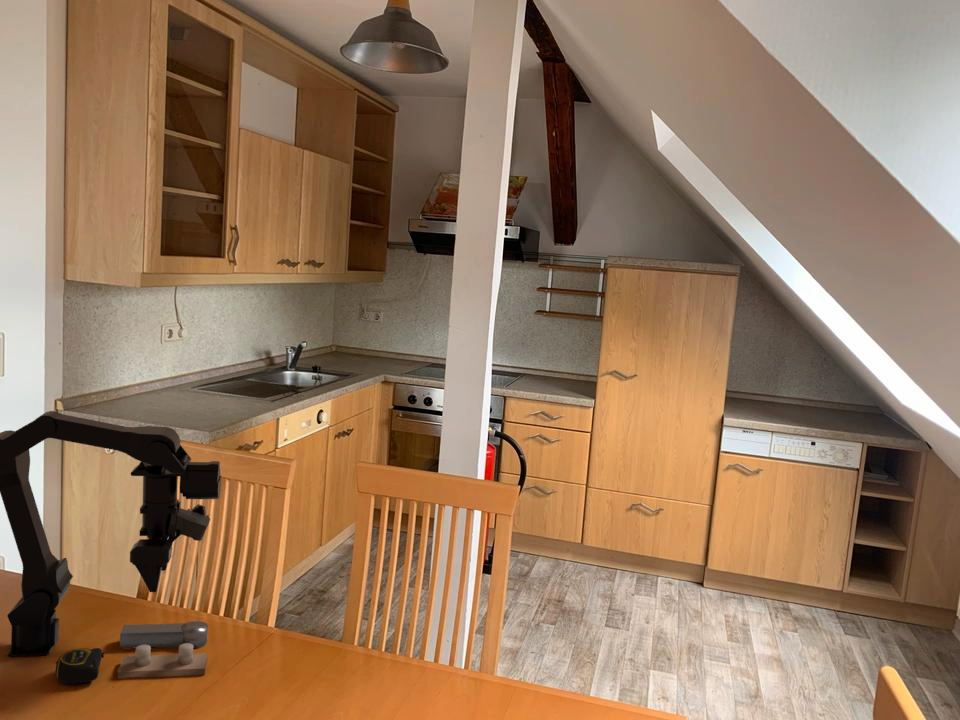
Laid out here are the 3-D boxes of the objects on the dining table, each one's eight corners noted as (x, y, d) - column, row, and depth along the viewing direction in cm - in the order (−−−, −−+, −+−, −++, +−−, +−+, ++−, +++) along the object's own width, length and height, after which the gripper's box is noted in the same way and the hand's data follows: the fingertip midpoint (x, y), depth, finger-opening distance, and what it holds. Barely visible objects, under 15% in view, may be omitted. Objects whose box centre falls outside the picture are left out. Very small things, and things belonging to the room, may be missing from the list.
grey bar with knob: (118, 651, 138) (119, 635, 138) (124, 638, 143) (124, 622, 143) (206, 648, 142) (206, 633, 142) (208, 635, 147) (209, 620, 146)
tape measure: (97, 687, 127) (98, 665, 127) (50, 690, 125) (51, 668, 125) (103, 665, 134) (104, 645, 133) (59, 667, 132) (60, 647, 131)
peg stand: (117, 678, 130) (118, 656, 129) (123, 662, 135) (124, 641, 134) (204, 674, 134) (205, 653, 133) (207, 659, 138) (208, 638, 138)
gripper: (200, 516, 131) (197, 603, 133) (213, 483, 149) (210, 559, 151) (129, 516, 128) (128, 604, 130) (151, 482, 146) (150, 560, 148)
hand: (158, 580), depth 140 cm, fingers open, 9 cm apart
